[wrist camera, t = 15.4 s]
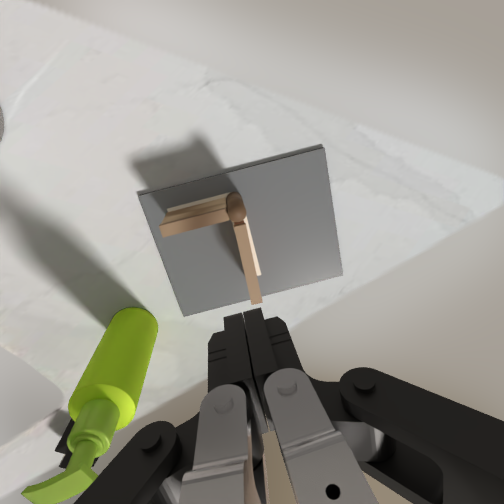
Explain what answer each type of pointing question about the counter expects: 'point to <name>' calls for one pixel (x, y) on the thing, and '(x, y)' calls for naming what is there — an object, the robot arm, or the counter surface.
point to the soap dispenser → (102, 401)
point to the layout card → (251, 232)
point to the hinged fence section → (247, 262)
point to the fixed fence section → (204, 215)
